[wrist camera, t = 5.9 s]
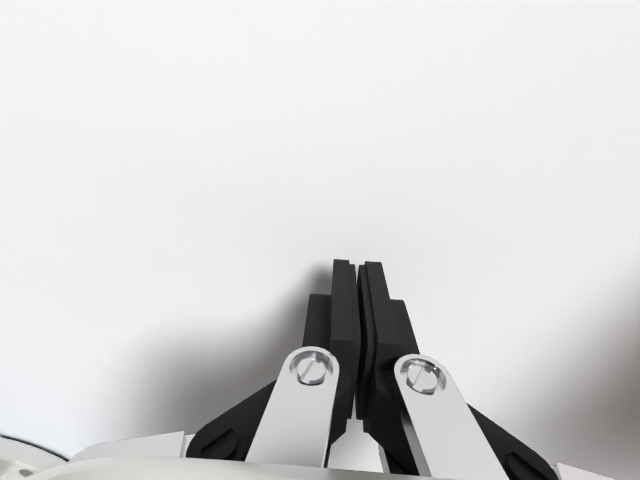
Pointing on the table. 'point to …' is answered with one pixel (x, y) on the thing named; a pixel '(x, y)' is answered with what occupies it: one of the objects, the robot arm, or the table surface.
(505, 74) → the table surface
